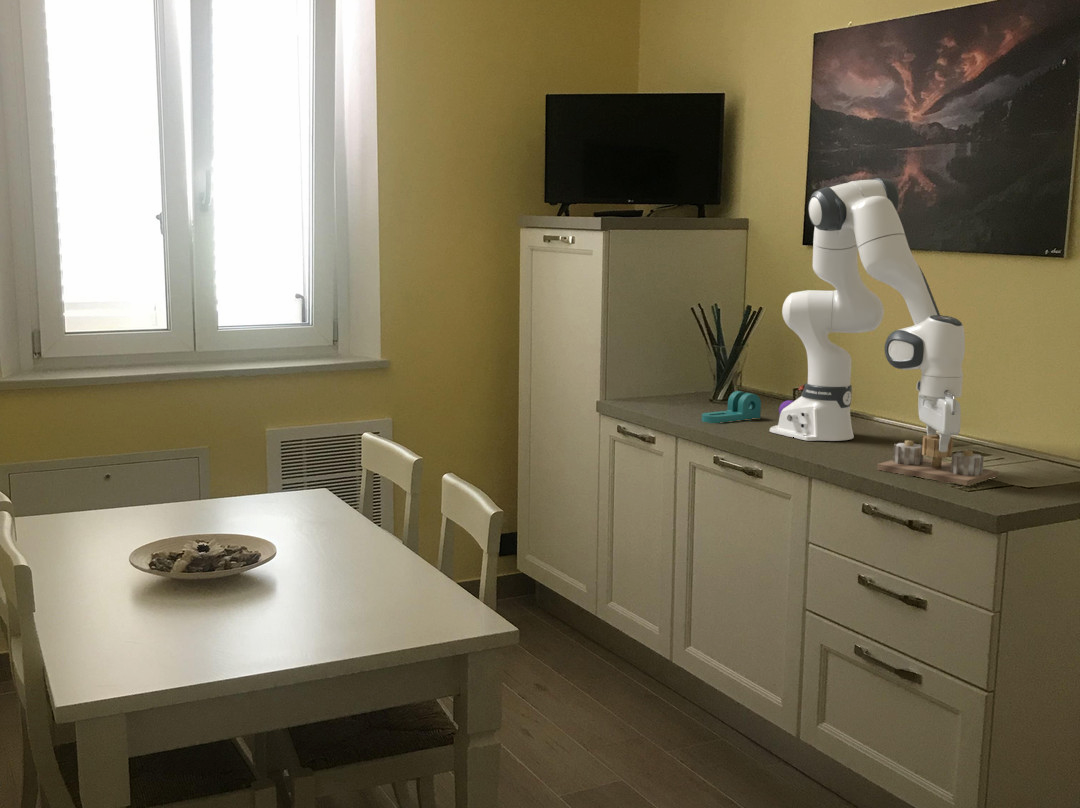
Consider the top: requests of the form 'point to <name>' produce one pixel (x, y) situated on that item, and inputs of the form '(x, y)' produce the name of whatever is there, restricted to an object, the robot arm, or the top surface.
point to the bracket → (736, 409)
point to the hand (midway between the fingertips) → (937, 447)
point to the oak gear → (935, 447)
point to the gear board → (934, 472)
